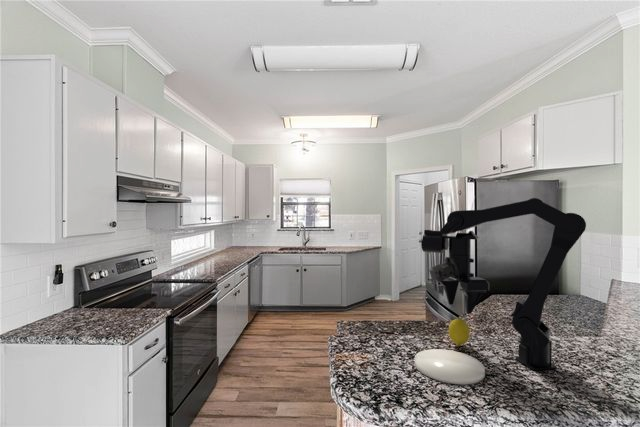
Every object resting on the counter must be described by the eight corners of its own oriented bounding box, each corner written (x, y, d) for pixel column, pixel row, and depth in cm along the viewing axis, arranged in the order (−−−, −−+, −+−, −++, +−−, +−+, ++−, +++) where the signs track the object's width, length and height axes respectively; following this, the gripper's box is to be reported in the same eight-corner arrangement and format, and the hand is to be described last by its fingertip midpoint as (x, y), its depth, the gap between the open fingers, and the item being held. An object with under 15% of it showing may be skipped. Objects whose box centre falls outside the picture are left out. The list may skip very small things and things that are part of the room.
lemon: (471, 350, 90) (471, 321, 90) (450, 349, 91) (450, 320, 91) (466, 343, 96) (467, 315, 96) (446, 341, 97) (447, 314, 97)
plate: (460, 352, 89) (460, 347, 89) (500, 381, 73) (500, 376, 73) (404, 355, 87) (404, 350, 87) (433, 386, 71) (433, 381, 71)
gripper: (418, 251, 102) (418, 301, 102) (450, 259, 83) (450, 320, 83) (452, 250, 103) (452, 300, 103) (490, 258, 85) (490, 318, 85)
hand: (459, 308), depth 94 cm, fingers open, 9 cm apart
